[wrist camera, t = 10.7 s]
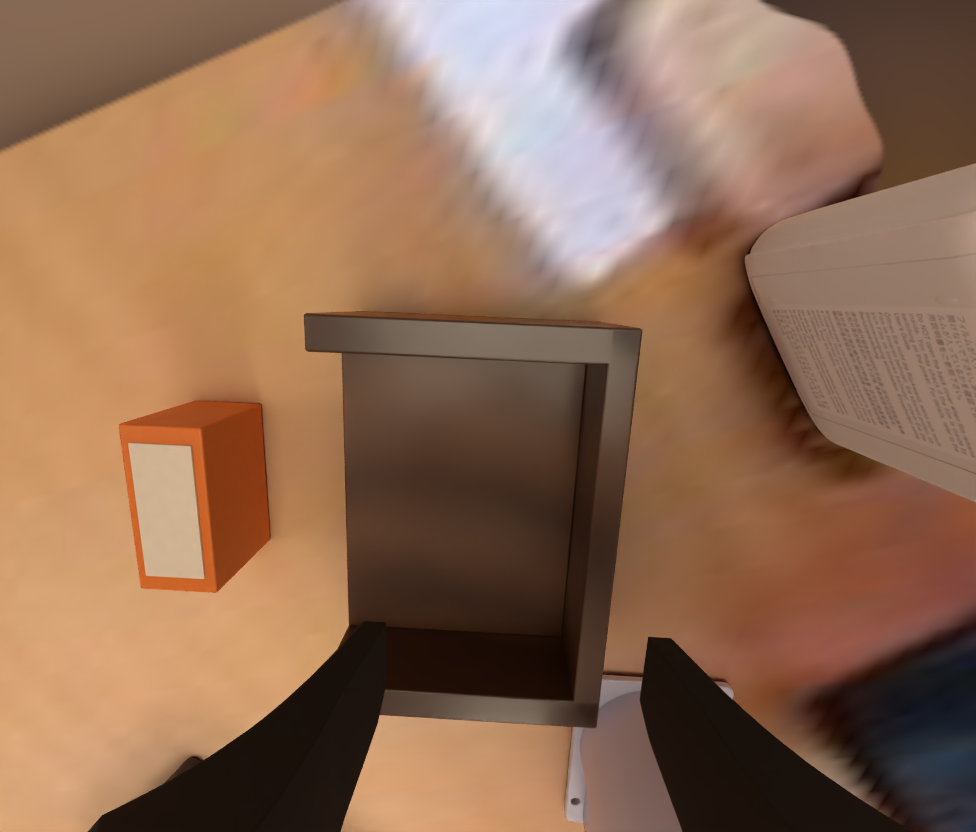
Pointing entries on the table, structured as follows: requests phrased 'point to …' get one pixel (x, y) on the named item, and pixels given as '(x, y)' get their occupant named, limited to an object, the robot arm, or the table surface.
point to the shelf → (484, 505)
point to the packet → (196, 493)
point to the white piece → (882, 322)
